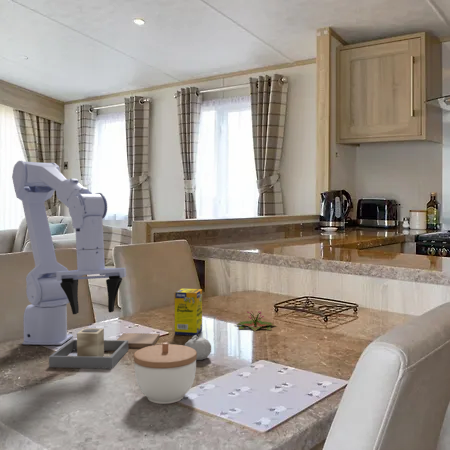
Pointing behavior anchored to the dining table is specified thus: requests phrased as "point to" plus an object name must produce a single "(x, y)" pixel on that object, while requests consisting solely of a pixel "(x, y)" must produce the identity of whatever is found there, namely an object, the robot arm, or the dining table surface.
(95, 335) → the box
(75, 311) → the robot arm
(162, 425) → the dining table surface
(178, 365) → the lidded jar
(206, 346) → the garlic
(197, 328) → the supplement box
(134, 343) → the coaster
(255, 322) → the lily flower
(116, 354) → the bin
